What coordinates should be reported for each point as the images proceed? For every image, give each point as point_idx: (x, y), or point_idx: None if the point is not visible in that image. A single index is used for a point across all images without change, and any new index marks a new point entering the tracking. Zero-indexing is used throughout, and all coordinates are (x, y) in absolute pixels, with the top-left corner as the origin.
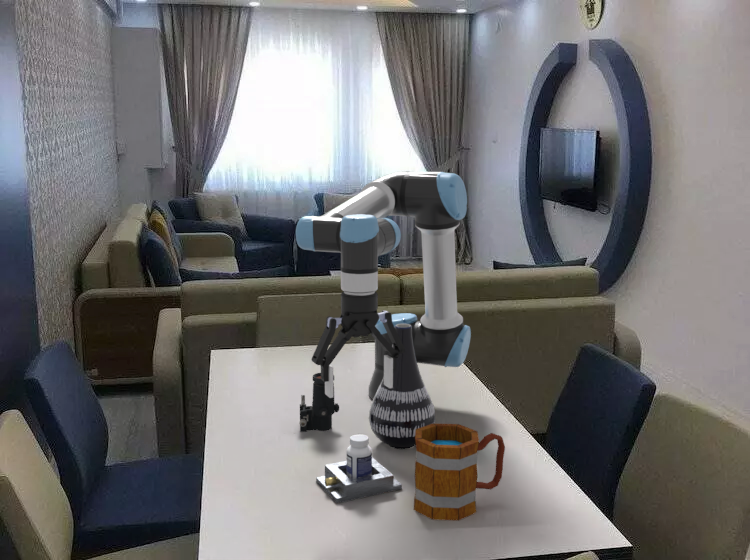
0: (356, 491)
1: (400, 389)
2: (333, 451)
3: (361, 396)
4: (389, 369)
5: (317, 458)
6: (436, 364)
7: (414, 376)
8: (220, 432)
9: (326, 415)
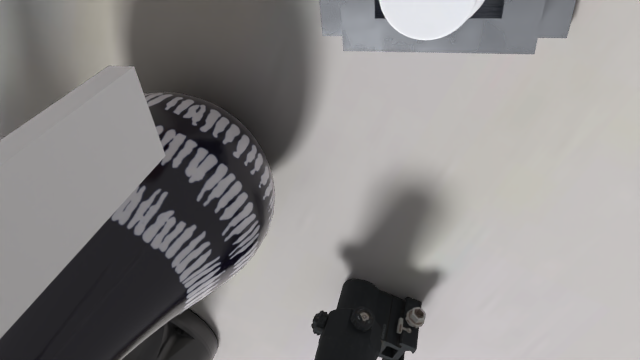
0: None
1: (121, 235)
2: (398, 187)
3: (232, 351)
4: (10, 167)
5: (461, 172)
6: None
7: None
8: None
9: (358, 308)
